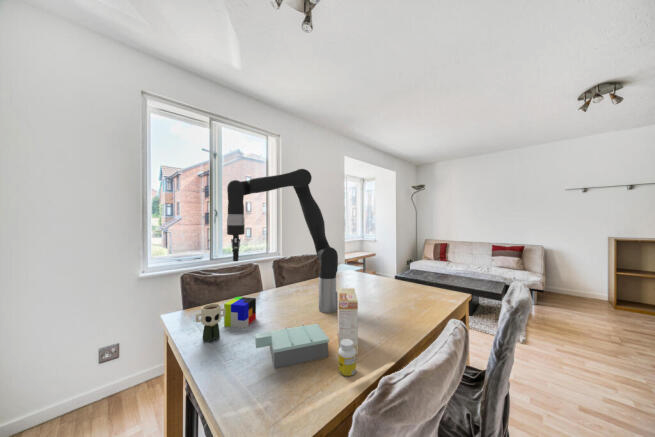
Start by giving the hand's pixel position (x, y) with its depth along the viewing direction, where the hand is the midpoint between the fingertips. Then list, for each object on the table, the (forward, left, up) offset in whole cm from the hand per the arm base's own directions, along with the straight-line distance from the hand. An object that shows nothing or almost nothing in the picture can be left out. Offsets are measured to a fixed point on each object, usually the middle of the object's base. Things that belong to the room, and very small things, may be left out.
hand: (235, 259), depth 108 cm
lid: (-18, +35, -23) cm, 46 cm away
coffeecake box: (-40, +35, -30) cm, 61 cm away
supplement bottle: (-33, +50, -30) cm, 67 cm away
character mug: (+9, +12, -30) cm, 33 cm away
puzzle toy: (-2, 0, -30) cm, 30 cm away
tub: (-21, +35, -29) cm, 50 cm away
